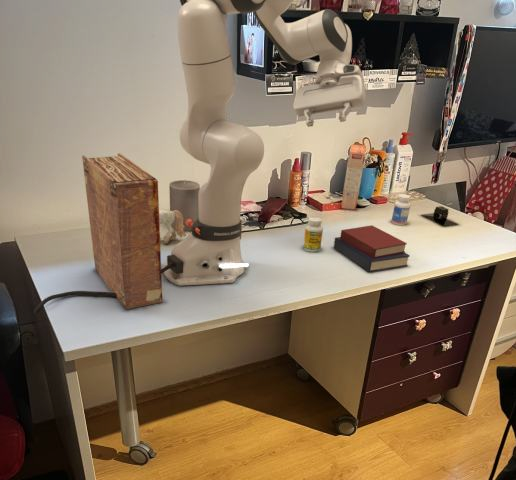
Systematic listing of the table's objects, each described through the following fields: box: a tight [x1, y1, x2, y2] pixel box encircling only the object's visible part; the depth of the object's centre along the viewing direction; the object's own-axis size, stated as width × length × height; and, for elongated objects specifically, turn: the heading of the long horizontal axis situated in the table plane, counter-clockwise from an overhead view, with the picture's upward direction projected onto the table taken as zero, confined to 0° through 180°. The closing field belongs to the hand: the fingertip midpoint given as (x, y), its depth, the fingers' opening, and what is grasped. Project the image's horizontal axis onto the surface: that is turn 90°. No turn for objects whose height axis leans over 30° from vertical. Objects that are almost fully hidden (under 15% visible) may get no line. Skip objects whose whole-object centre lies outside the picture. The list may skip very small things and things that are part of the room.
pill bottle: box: [391, 193, 411, 226], centre depth 188 cm, size 6×5×10 cm
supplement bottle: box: [303, 216, 324, 253], centre depth 163 cm, size 5×5×10 cm
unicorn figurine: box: [159, 209, 187, 245], centre depth 159 cm, size 7×20×13 cm, turn 117°
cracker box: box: [340, 144, 367, 211], centre depth 200 cm, size 14×6×21 cm, turn 168°
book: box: [81, 152, 163, 310], centre depth 129 cm, size 25×9×30 cm, turn 31°
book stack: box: [333, 224, 411, 273], centre depth 161 cm, size 14×19×6 cm
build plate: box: [420, 205, 459, 228], centre depth 195 cm, size 12×7×5 cm, turn 26°
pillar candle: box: [168, 179, 201, 232], centre depth 172 cm, size 10×10×15 cm
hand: (325, 122), depth 146 cm, fingers open, 8 cm apart
